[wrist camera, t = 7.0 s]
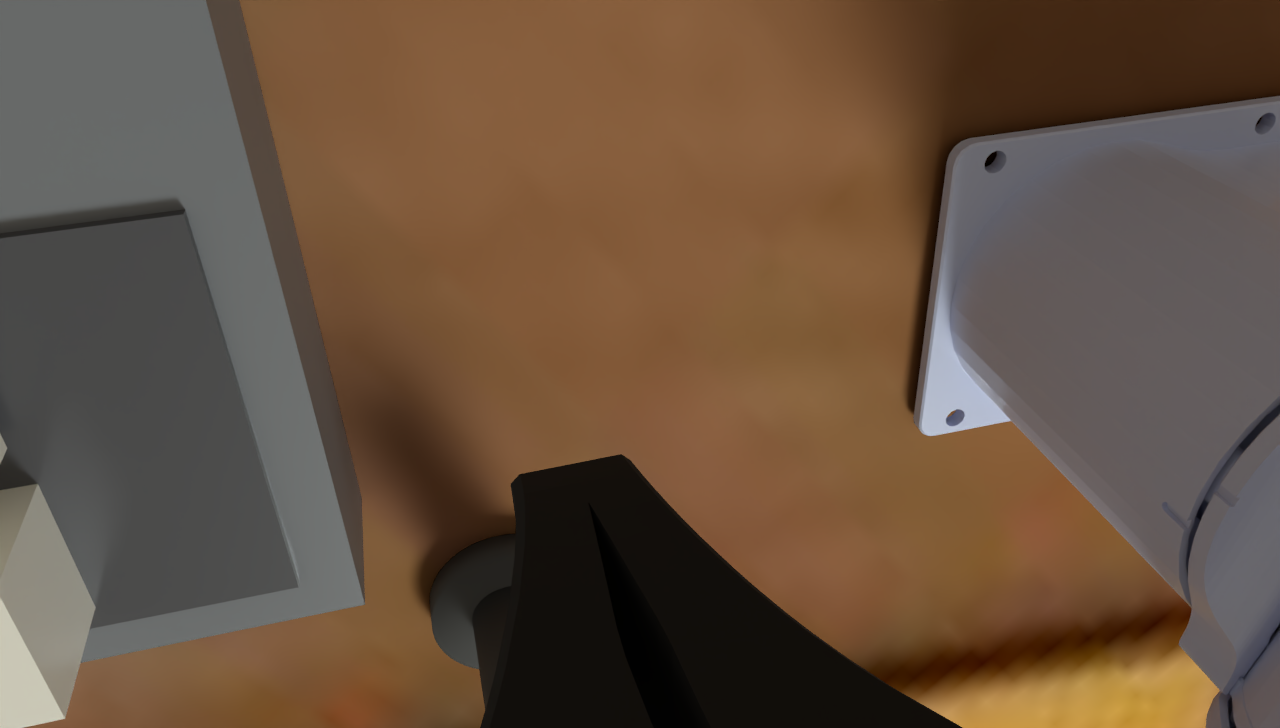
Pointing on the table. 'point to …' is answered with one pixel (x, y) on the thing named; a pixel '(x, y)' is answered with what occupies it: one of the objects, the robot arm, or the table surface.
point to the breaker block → (153, 351)
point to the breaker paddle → (2, 448)
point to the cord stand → (474, 605)
